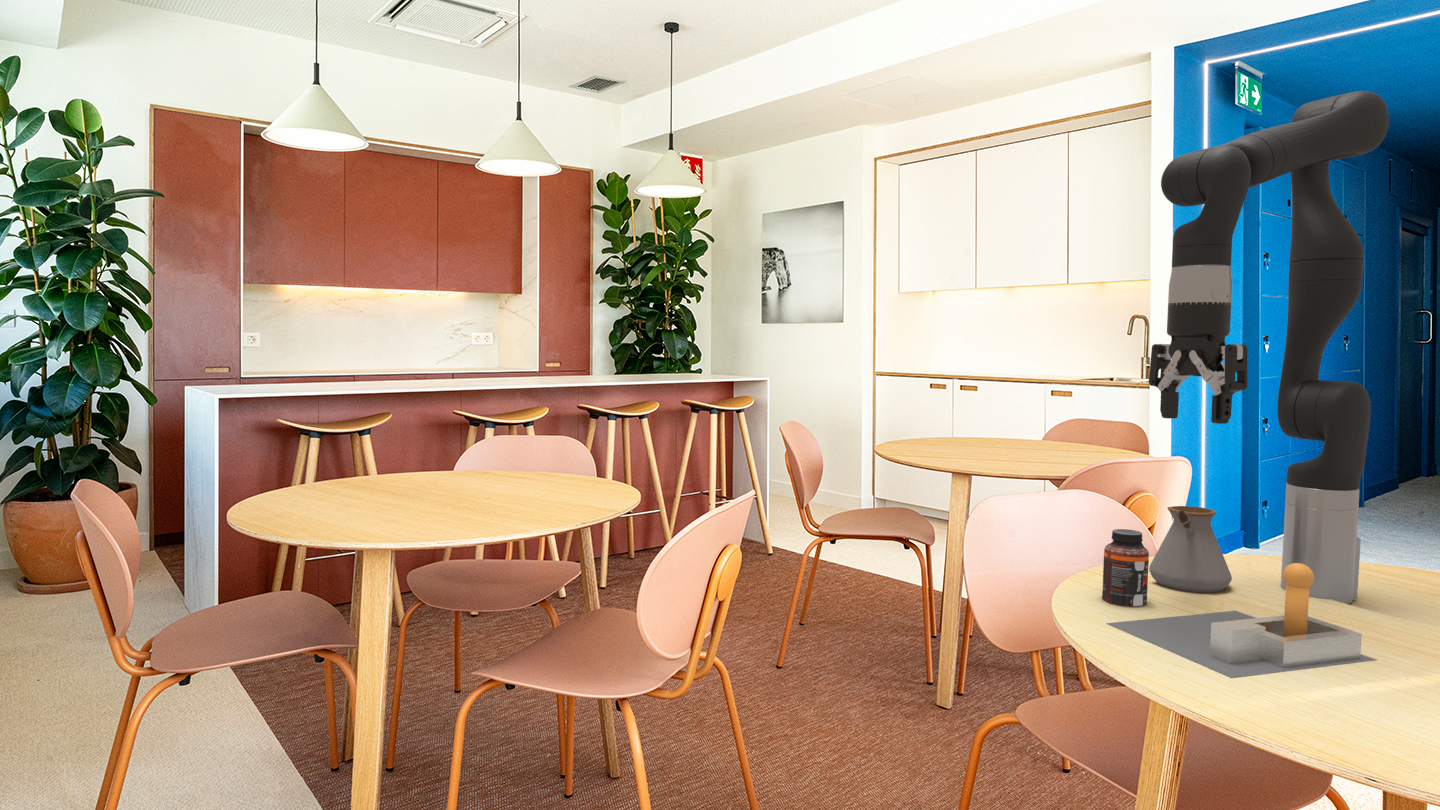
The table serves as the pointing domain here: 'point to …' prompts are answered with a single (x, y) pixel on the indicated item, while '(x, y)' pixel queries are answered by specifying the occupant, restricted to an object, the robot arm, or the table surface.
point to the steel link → (1282, 642)
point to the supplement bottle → (1125, 570)
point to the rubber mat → (1206, 642)
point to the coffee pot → (1191, 553)
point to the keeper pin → (1296, 598)
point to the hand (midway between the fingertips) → (1193, 420)
